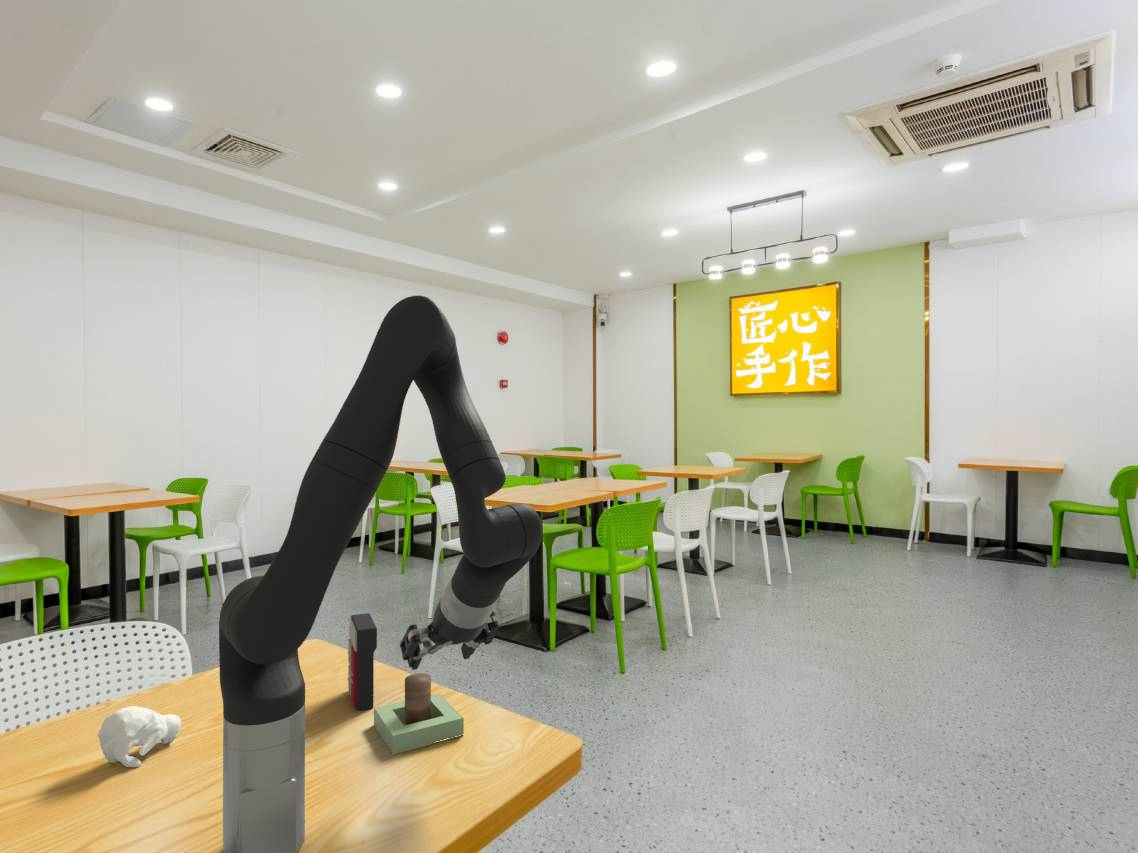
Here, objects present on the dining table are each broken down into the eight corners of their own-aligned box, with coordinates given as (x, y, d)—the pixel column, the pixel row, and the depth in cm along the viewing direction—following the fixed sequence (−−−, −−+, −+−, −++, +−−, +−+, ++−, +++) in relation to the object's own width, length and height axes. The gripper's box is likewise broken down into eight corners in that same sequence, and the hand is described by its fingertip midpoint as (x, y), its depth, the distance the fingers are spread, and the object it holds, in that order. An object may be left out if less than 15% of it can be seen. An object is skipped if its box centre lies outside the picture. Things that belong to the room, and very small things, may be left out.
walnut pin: (434, 732, 108) (434, 680, 108) (409, 738, 106) (409, 685, 106) (426, 722, 112) (426, 671, 112) (401, 728, 110) (401, 676, 110)
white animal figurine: (95, 711, 97) (168, 688, 108) (89, 769, 96) (163, 740, 107) (123, 717, 95) (195, 693, 106) (117, 777, 94) (190, 746, 105)
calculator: (346, 689, 126) (347, 615, 126) (369, 686, 128) (369, 612, 128) (352, 712, 116) (352, 630, 116) (376, 707, 118) (377, 627, 118)
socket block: (463, 735, 107) (463, 717, 107) (393, 754, 101) (393, 735, 101) (439, 708, 117) (439, 692, 117) (374, 724, 111) (374, 707, 111)
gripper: (503, 575, 96) (474, 630, 106) (412, 587, 89) (389, 645, 99) (519, 619, 92) (487, 672, 101) (424, 635, 84) (399, 691, 94)
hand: (439, 658), depth 100 cm, fingers open, 8 cm apart
